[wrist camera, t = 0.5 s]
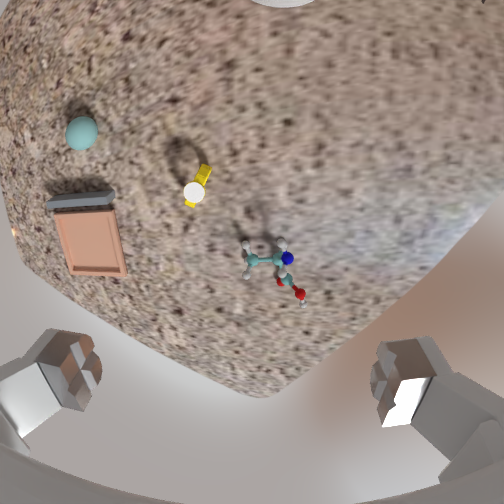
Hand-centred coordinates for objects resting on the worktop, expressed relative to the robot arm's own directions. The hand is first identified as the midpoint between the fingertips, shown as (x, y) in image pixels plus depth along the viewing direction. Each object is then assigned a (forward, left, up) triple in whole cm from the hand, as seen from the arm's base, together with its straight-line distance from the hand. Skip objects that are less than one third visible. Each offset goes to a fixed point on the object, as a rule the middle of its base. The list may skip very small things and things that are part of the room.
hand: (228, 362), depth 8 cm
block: (+7, -27, -37) cm, 47 cm away
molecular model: (+18, +4, -37) cm, 42 cm away
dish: (+16, -28, -37) cm, 49 cm away
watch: (+6, -7, -37) cm, 39 cm away
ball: (-3, -24, -37) cm, 45 cm away
